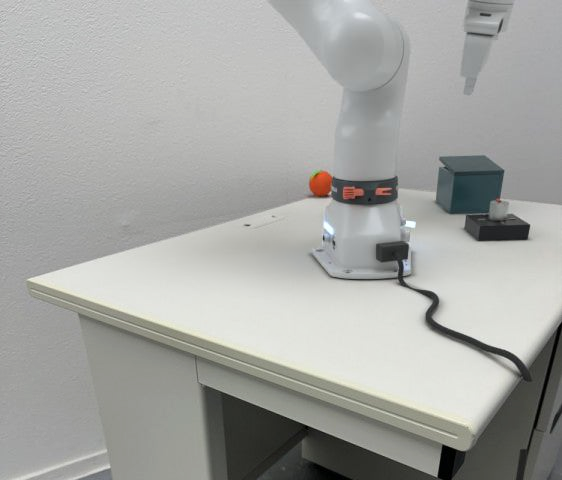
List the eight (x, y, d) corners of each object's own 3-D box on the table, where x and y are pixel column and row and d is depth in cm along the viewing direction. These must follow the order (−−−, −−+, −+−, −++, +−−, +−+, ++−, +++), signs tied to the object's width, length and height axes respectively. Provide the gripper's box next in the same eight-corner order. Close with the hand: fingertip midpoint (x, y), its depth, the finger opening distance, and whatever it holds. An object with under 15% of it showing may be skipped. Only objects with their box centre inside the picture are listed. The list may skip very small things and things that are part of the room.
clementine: (320, 200, 151) (320, 173, 148) (301, 197, 156) (301, 171, 152) (338, 195, 156) (338, 169, 153) (319, 192, 161) (319, 167, 157)
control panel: (527, 239, 110) (530, 223, 109) (478, 240, 111) (480, 225, 109) (510, 227, 119) (512, 212, 118) (464, 228, 119) (466, 214, 118)
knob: (508, 221, 112) (512, 202, 110) (491, 221, 112) (494, 202, 110) (502, 217, 115) (505, 198, 113) (485, 217, 115) (488, 199, 113)
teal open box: (435, 201, 145) (439, 166, 141) (479, 200, 145) (484, 165, 141) (449, 213, 132) (454, 175, 128) (497, 212, 132) (504, 174, 128)
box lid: (438, 160, 141) (439, 156, 140) (484, 158, 141) (484, 155, 140) (454, 175, 128) (454, 171, 128) (504, 174, 128) (504, 170, 127)
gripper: (476, 12, 119) (459, 82, 127) (464, 22, 104) (446, 101, 113) (506, 15, 117) (487, 86, 126) (498, 26, 102) (477, 105, 111)
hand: (467, 93), depth 119 cm, fingers closed
